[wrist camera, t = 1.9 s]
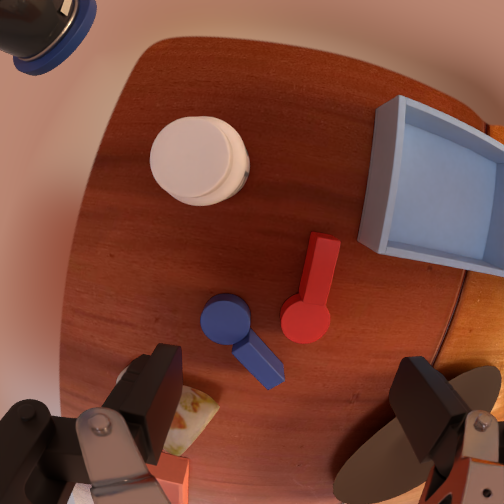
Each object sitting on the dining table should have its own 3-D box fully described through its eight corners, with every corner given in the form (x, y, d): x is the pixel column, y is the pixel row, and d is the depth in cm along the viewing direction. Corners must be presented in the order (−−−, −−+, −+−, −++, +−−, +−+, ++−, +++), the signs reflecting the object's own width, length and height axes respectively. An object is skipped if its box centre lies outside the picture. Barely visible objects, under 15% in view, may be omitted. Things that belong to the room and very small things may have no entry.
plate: (448, 471, 31) (455, 483, 28) (308, 499, 31) (310, 517, 28) (523, 346, 25) (537, 357, 21) (365, 367, 25) (376, 389, 22)
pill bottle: (183, 135, 21) (139, 107, 12) (250, 132, 21) (244, 99, 12) (182, 201, 22) (137, 211, 13) (249, 200, 22) (243, 210, 13)
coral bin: (95, 430, 29) (82, 452, 24) (189, 458, 29) (183, 484, 25) (119, 498, 34) (113, 514, 30) (187, 517, 34) (183, 535, 30)
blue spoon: (194, 310, 24) (187, 323, 22) (230, 284, 23) (227, 295, 21) (258, 378, 26) (257, 396, 23) (293, 358, 25) (296, 374, 22)
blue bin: (356, 241, 22) (377, 253, 18) (375, 108, 20) (399, 94, 16) (481, 265, 23) (508, 278, 18) (497, 160, 20) (526, 159, 16)
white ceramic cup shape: (131, 334, 25) (153, 408, 17) (207, 366, 30) (249, 428, 22) (100, 386, 25) (114, 461, 16) (174, 409, 30) (206, 473, 22)
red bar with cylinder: (319, 337, 24) (325, 352, 22) (275, 331, 24) (277, 347, 22) (345, 237, 22) (355, 243, 20) (297, 228, 22) (302, 233, 20)
